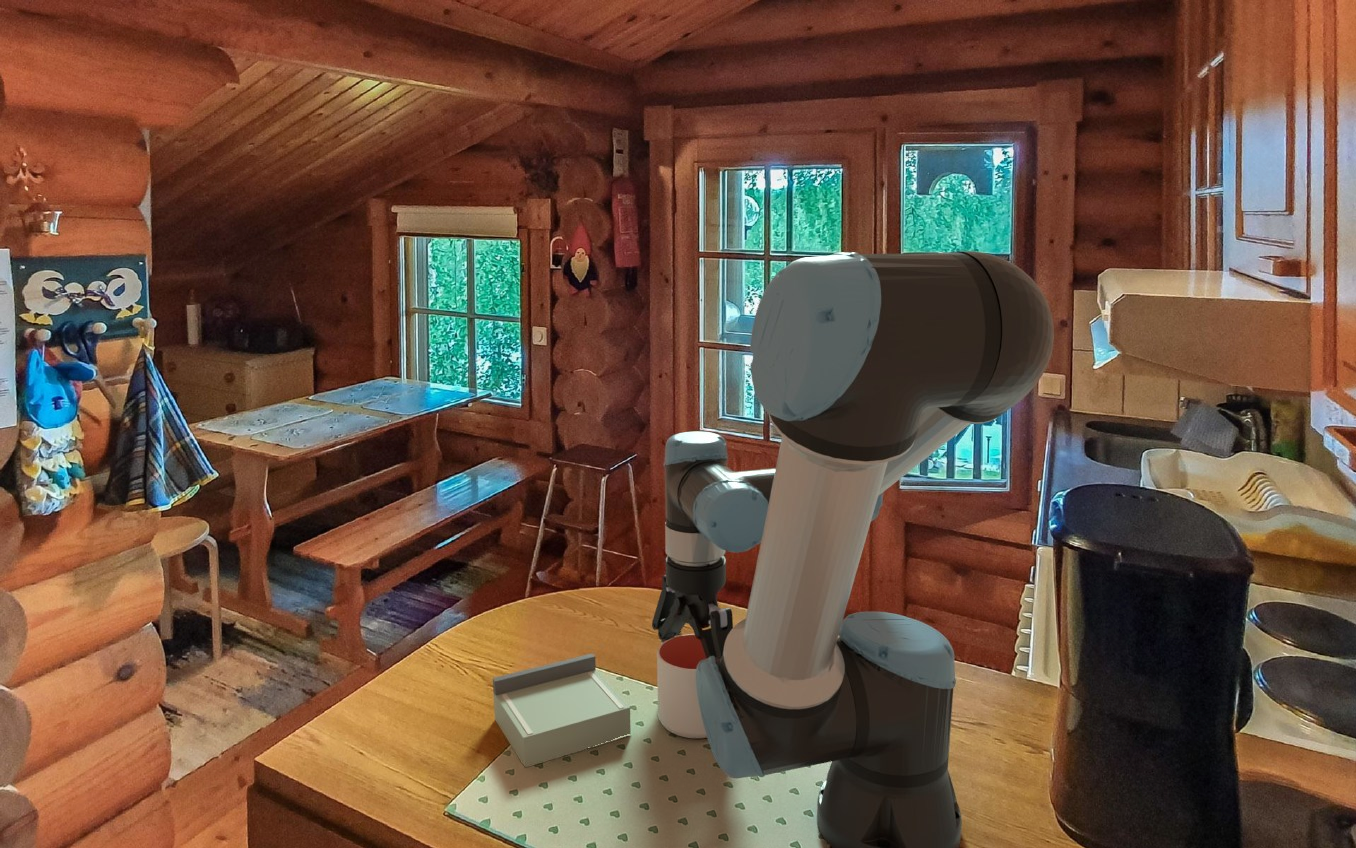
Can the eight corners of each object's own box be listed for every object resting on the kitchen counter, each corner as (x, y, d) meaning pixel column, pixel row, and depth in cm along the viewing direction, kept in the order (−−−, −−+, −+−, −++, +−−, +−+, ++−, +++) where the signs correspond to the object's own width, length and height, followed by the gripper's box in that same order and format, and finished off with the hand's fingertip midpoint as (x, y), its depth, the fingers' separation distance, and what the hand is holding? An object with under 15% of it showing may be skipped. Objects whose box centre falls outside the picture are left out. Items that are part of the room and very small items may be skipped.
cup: (728, 747, 113) (729, 673, 110) (650, 738, 115) (649, 666, 112) (739, 705, 122) (739, 636, 120) (666, 698, 124) (666, 630, 122)
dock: (630, 735, 115) (629, 693, 114) (524, 767, 109) (522, 722, 107) (593, 693, 126) (592, 653, 124) (495, 719, 119) (492, 678, 118)
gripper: (777, 585, 104) (773, 749, 109) (675, 520, 126) (676, 659, 131) (721, 598, 101) (719, 767, 106) (626, 529, 122) (628, 672, 127)
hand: (695, 708), depth 118 cm, fingers open, 13 cm apart
